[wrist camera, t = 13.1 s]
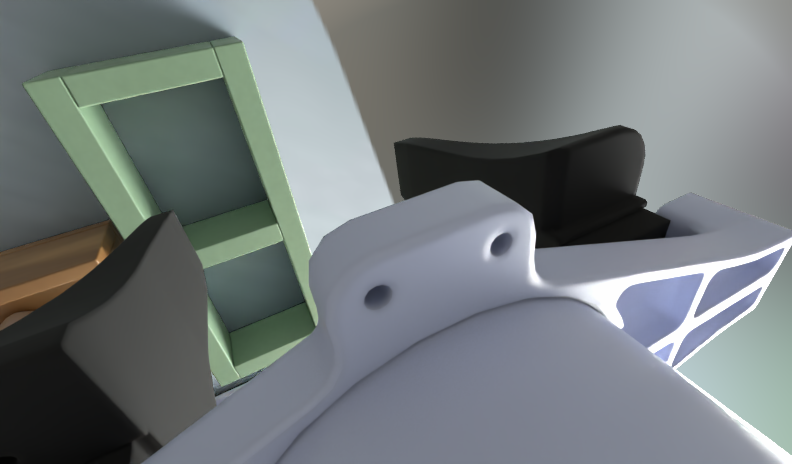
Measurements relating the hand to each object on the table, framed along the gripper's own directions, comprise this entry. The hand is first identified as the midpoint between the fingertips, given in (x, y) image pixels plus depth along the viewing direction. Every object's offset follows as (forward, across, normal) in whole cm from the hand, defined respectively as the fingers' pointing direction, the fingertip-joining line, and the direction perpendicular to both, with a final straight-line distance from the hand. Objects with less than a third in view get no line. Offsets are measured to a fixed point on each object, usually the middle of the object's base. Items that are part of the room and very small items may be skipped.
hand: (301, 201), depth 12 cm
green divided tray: (+10, +4, +5) cm, 12 cm away
